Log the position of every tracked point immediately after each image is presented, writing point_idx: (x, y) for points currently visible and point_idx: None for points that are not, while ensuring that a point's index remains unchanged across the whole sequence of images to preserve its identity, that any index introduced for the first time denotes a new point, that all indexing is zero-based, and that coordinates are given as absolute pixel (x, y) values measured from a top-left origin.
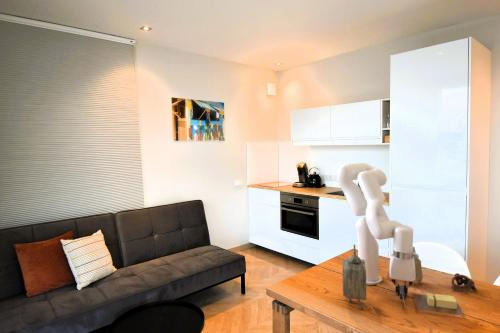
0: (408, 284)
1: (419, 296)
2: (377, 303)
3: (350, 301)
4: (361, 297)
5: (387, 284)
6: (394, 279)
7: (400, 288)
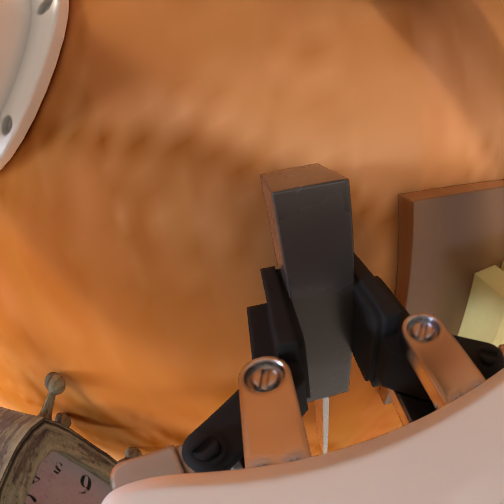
0: (429, 406)
1: (452, 241)
2: (162, 407)
3: (70, 422)
4: None
5: (122, 28)
6: (241, 458)
7: (314, 308)
